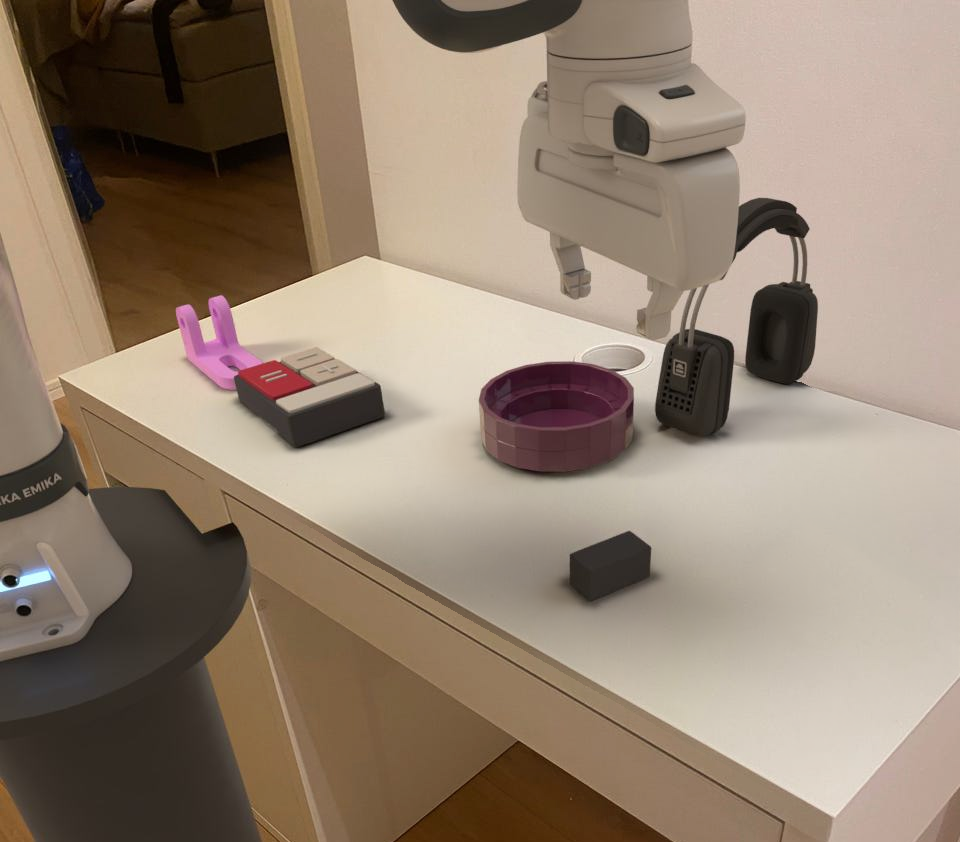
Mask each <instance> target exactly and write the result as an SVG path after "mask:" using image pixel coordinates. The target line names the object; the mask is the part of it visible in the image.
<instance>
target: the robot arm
mask: <svg viewBox="0 0 960 842" xmlns="http://www.w3.org/2000/svg"><path fill="white" fill-rule="evenodd" d="M392 3H393V4H394V6H395V8H396V10H397V11H398V14H399V15H400V17H401V18H402V20H403V21H404V23H406V25H407V26H408V27H409V28H410V29H411V30H412V31H413V32H414V33H415V34H416V35H417V36H419V37H420V38H421V39H422V40H424V41H425V42H427V43H429V44H431V45H432V46H434V47H437V48H439V49H441V50H445V51H449V52H453V53H458V54H479V53H484V52H488V51H492V50H495V49H498V48H500V47H501V46H504V45H509V44H512V43H515V42H519V41H522V40H526V39H528V38H532V37H534V36H538V35H540V34H544V36H545V40H546V45H545V46H546V80H544V81H540V82H539V83H538V84H537V86H536V87H535V89H534V90H533V92H532V93H531V96H530V97H528V100H527V105H526V106H527V111H526V112H527V116H526V118H525V119H524V121H523V122H522V125H521V129H520V133H519V134H520V135H519V141H518V155H517V156H518V159H517V160H518V161H517V191H516V192H517V193H516V195H517V205H518V209H519V211H520V213H521V217H522V218H523V220H524V221H525V222H527V223H529V224H531V225H533V226H535V227H537V228H540V229H542V230H545V231H547V232H549V246H550V249H551V252H552V254H553V257H554V261H555V264H556V266H557V270H558V272H559V284H560V287H559V288H560V290H559V291H560V293H561V294H562V295H563V296H566V297H567V298H570V299H572V300H573V301H575V300H579V299H583V298H587V297H588V296H589V295H590V294H591V292H592V291H591V290H592V285H591V282H592V271H590V270H588V269H586V266H585V262H584V257H583V253H582V248H584V249H587V250H589V251H591V252H594V253H596V254H597V255H600V256H602V257H604V258H607V259H609V260H611V261H613V262H615V263H618V264H620V265H622V266H624V267H626V268H629V269H631V270H633V271H636V272H638V273H640V274H642V275H645V276H647V280H646V289H647V291H649V292H651V296H650V298H649V301H648V303H647V306H646V307H642V308H639V309H637V310H636V321H637V324H636V333H638V334H640V336H643V337H645V338H646V339H649V340H651V341H657V340H660V339H663V338H667V336H668V335H669V334H670V332H671V325H672V324H671V322H672V311H673V310H674V309H675V307H676V306H677V304H678V302H679V300H680V299H681V297H682V295H683V294H684V293H685V292H687V291H691V289H695V288H697V289H698V288H702V286H705V285H709V286H710V285H711V284H714V283H717V282H720V281H721V280H720V279H721V278H722V277H723V276H724V275H725V274H726V272H727V271H728V272H729V270H730V268H731V267H732V265H733V263H732V261H733V257H734V251H735V243H736V234H737V224H738V211H739V206H740V194H741V193H740V192H741V191H740V190H741V189H740V188H741V180H740V179H741V178H740V170H739V166H738V162H737V160H736V158H735V156H734V154H733V153H732V151H731V150H730V149H729V147H731V146H736V145H738V144H740V143H741V142H742V140H743V138H744V135H745V129H746V111H745V108H744V107H743V105H742V104H741V103H739V101H738V100H736V99H735V98H734V97H732V96H731V95H730V94H728V93H727V91H725V90H724V89H722V87H720V86H719V85H718V84H717V83H716V82H714V81H713V80H712V79H711V78H710V77H709V76H708V75H707V74H706V73H705V71H704V70H703V69H702V68H701V66H699V65H698V64H696V63H694V62H692V57H693V56H692V53H693V37H694V36H693V28H692V22H691V17H690V9H689V8H690V7H689V6H690V5H689V0H392ZM581 247H582V248H581ZM733 262H734V261H733ZM728 269H729V270H728ZM728 272H727V273H728ZM726 275H727V274H726ZM726 275H725V276H726ZM55 407H56V406H55V404H54V402H53V399H52V396H51V394H50V391H49V389H48V385H47V383H46V380H45V377H44V375H43V372H42V369H41V366H40V363H39V361H38V358H37V355H36V352H35V349H34V347H33V343H32V341H31V337H30V335H29V332H28V328H27V323H26V319H25V315H24V312H23V308H22V304H21V300H20V296H19V292H18V288H17V285H16V281H15V277H14V274H13V270H12V266H11V264H10V260H9V257H8V254H7V250H6V248H5V244H4V241H3V237H2V234H1V233H0V661H5V660H9V659H13V658H17V657H21V656H25V655H30V654H34V653H38V652H42V651H46V650H50V649H55V648H59V647H63V646H67V645H71V644H74V643H76V642H78V641H80V640H81V639H82V638H83V637H84V636H85V635H86V634H87V633H88V631H89V630H90V628H91V626H92V624H93V623H94V621H95V619H96V618H97V617H98V616H99V615H100V614H101V613H102V612H104V611H105V610H106V609H107V608H109V607H110V606H111V605H112V604H113V603H114V602H116V601H117V600H118V598H119V597H120V596H121V595H122V594H123V593H124V591H125V590H126V588H127V587H128V585H129V583H130V580H131V577H132V564H131V561H130V560H129V558H128V557H127V555H126V554H125V553H124V552H123V551H122V549H121V548H120V547H119V545H118V544H117V543H116V541H115V540H114V538H113V537H112V535H111V534H110V532H109V531H108V529H107V527H106V525H105V524H104V522H103V520H102V519H101V517H100V515H99V513H98V511H97V509H96V507H95V505H94V503H93V501H92V499H91V497H90V495H89V489H90V488H89V484H88V476H87V472H86V470H85V467H84V464H83V461H82V459H81V456H80V454H79V449H78V447H77V445H76V443H75V440H74V438H73V437H72V436H71V434H70V432H69V431H68V428H67V427H66V425H65V424H63V423H62V422H61V421H60V419H59V416H58V414H57V410H56V408H55Z"/></svg>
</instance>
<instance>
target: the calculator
mask: <svg viewBox="0 0 960 842" xmlns="http://www.w3.org/2000/svg"><path fill="white" fill-rule="evenodd" d="M262 363H263V362H262ZM237 372H238V375H236V376H234V381H235V385H236V389H237V390H236V393H237V397H238V400H239V402H240V403H242V404H243V405H244V406H246V407H247V408H248V409H249V410H250V411H252V412H253V413H254V414H256V415H257V416H258V417H260V418H261V419H262V420H264V421H265V422H267V423H268V424H269V425H270V426H272V427H273V428H275V430H276V432H277V433H278V435H279V437H281V438H282V439H283V440H285V441H286V442H287V443H289V444H290V445H291V446H292V447H295V448H299V447H301V446H305V445H308V444H311V443H314V442H315V441H319V440H321V439H325V438H328V437H330V436H333V435H336V434H338V433H342V432H344V431H347V430H350V429H353V428H356V427H358V426H361V425H364V424H367V423H370V422H373V421H376V420H379V419H381V418H384V417H385V416H386V412H385V406H384V405H385V404H384V398H383V391H382V386H381V384H379V383H378V382H376V381H375V380H373V379H371V378H370V377H368V376H366V375H365V374H362V373H360V372H359V371H358V370H356V368H354V367H352V366H350V365H349V364H348V363H346V362H343V361H342V360H340V359H339V358H335V357H334V355H332V354H330V353H328V352H326V351H325V350H323V349H321V348H319V347H317V346H315V347H311V348H308V349H305V350H302V351H298V352H295V353H293V354H289V355H286V356H282V357H281V358H280V361H278V360H276V359H273V360H269V361H266V362H264V363H263V364H259V365H256V366H253V367H250V368H247V369H243V370H237Z"/></svg>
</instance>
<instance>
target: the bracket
mask: <svg viewBox="0 0 960 842" xmlns="http://www.w3.org/2000/svg"><path fill="white" fill-rule="evenodd" d="M208 310H209V313H210V318H211V323H212V325H213V329H214V335H215V339H212V340H208V341H204V337H203V332H202V328H201V325H200V324H201V323H200V321H199V318H198V316H197V313H196V311H195V309H194V308H193V306H192V305H191V304H184V305H181V306H178V307H176V308H175V314H176V319H177V324H178V328H179V332H180V335H181V339H182V342H183V347H184V350H185V354H186V358H187V360H188V361H189V362H190V363H192V364H193V365H194V366H195V367H196V368H197V369H199V371H201V372H202V373H203V374H205V375H206V376H207V377H208V378H209V379H211V380H212V382H214V383H215V384H216V385H218V386H219V387H220V388H222V389H224V390H228V391H229V390H231V391H237V389H236V385H235V381H234V376H236V375H238V371H240V370H243V369H247V368H250V367H253V366H256V365H259V364H263V362H262V360H260V359H259V358H257V357H256V356H254V355H253V354H251V352H249V351H248V350H246V349H245V348H243V347H242V346H241V345H240V343H239V340H238V335H237V331H236V327H235V321H234V317H233V313H232V310H231V307H230V305H229V302H228V301H227V299H226V298H225V297H224V296H223V295H222V294H221V295H217V296H214V297H210V298H209V299H208ZM229 367H236V368H237V369H238V371H234V370H232V369H231V368H229Z"/></svg>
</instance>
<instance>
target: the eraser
mask: <svg viewBox="0 0 960 842" xmlns="http://www.w3.org/2000/svg"><path fill="white" fill-rule="evenodd" d="M651 558H652V545H649V544H648V543H647V542H645V541H644V540H643V539H641V538H640V537H639V536H637V534H635V533H634V532H633V531H632V530H627V531H625V532H622V533H619V534H617V535H615V536H612V537H609V538H607V539H604V540H602V541H600V542H596V543H594V544H591V545H589V546H586V547H584V548H581V549H578V550H575V551H573V552H571V553H569V584H570V585H571V586H572V587H573V588H574V589H575V590H576V591H578V592H579V593H580V594H581V595H582V596H583V597H585V598H586V600H588V601H589V602H592V601H595V600H597V599H599V598H601V597H604V596H607V595H609V594H611V593H614V592H616V591H618V590H622V589H623V588H626V587H628V586H631V585H633V584H636V583H638V582H640V581H642V580H645V579H647V578H649V577H650V576H651V561H652V559H651Z"/></svg>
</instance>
